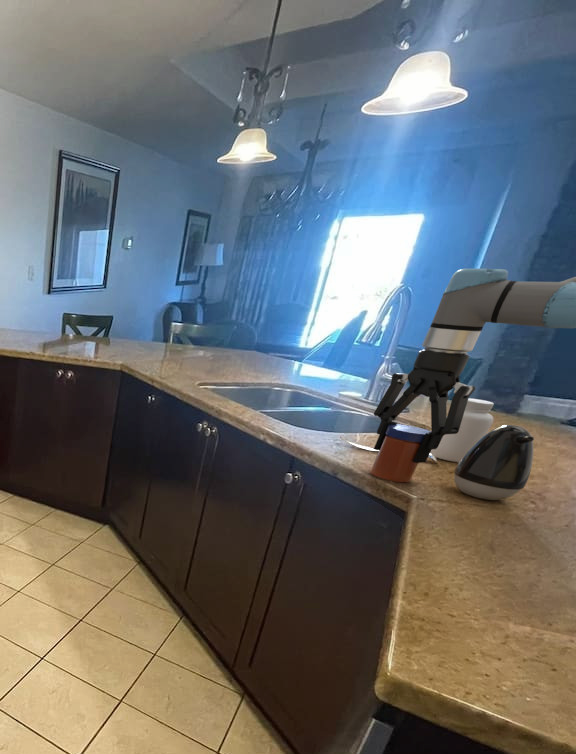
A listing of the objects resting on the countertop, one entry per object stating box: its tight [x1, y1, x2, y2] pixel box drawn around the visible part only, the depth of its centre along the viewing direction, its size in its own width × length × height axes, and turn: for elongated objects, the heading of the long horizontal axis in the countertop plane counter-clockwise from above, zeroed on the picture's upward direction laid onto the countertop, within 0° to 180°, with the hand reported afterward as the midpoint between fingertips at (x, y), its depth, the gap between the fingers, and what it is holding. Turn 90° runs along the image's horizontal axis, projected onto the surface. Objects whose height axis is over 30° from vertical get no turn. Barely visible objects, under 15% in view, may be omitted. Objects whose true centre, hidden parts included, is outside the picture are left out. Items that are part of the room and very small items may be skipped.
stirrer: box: [339, 435, 438, 464], centre depth 126 cm, size 20×4×5 cm
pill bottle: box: [431, 397, 495, 464], centre depth 121 cm, size 8×8×15 cm
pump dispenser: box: [453, 424, 535, 501], centre depth 99 cm, size 10×10×15 cm
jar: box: [369, 435, 421, 483], centre depth 109 cm, size 7×7×10 cm
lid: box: [385, 423, 431, 442], centre depth 107 cm, size 8×7×2 cm
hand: (398, 455), depth 109 cm, fingers closed on lid, 7 cm apart
